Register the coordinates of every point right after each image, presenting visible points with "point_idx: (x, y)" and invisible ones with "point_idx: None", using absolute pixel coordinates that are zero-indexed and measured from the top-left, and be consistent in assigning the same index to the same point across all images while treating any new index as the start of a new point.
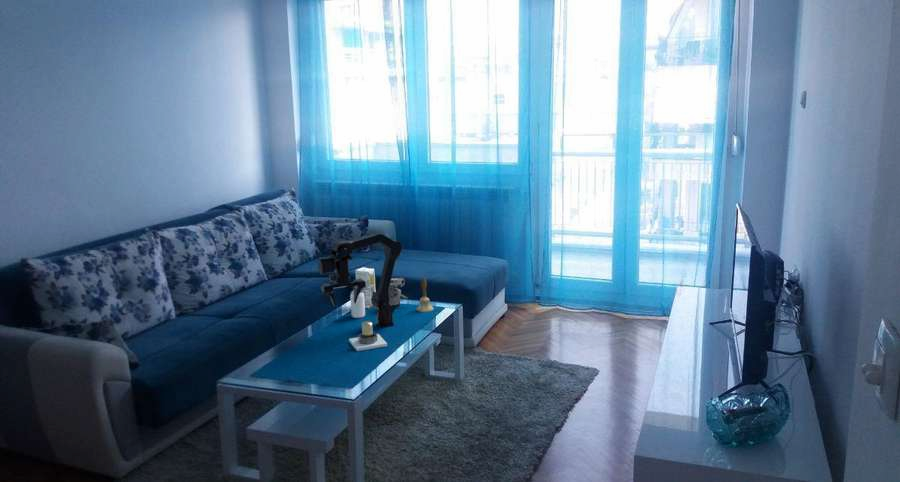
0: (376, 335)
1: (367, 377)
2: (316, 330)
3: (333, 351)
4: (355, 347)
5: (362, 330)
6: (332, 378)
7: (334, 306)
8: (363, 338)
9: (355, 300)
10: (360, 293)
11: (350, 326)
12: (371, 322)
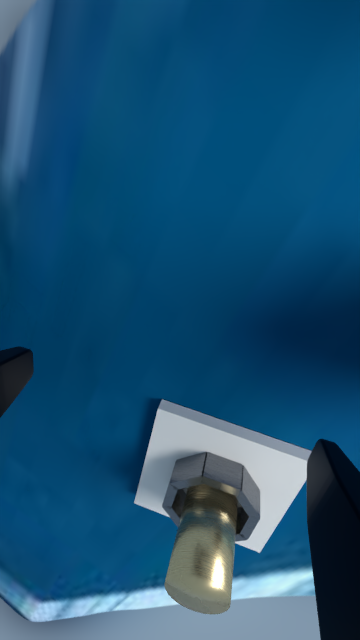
0: (244, 538)
1: (87, 601)
2: (72, 72)
3: (64, 434)
4: (138, 487)
5: (175, 539)
6: (14, 552)
7: (23, 371)
8: (174, 518)
9: (316, 523)
10: None
11: (319, 167)
12: (223, 607)
